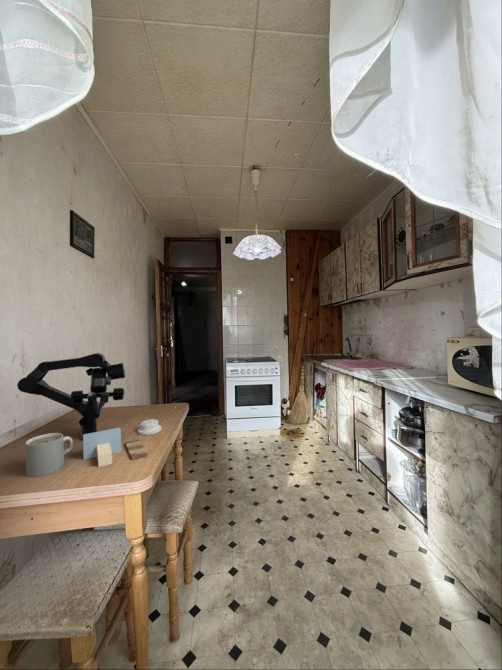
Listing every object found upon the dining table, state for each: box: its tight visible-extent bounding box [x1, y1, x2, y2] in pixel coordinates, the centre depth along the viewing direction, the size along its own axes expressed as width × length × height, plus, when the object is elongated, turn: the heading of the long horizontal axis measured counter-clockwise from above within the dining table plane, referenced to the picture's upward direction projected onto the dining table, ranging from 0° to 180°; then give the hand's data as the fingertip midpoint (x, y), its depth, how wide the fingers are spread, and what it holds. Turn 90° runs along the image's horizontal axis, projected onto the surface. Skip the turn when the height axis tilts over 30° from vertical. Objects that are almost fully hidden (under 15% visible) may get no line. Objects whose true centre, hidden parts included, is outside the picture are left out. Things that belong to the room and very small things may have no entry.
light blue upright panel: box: [82, 427, 122, 468], centre depth 95 cm, size 12×12×8 cm
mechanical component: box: [137, 418, 162, 436], centre depth 121 cm, size 10×4×10 cm
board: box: [124, 438, 148, 461], centre depth 101 cm, size 16×5×1 cm, turn 33°
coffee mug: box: [24, 432, 74, 478], centre depth 90 cm, size 13×10×10 cm
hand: (98, 414), depth 106 cm, fingers closed
